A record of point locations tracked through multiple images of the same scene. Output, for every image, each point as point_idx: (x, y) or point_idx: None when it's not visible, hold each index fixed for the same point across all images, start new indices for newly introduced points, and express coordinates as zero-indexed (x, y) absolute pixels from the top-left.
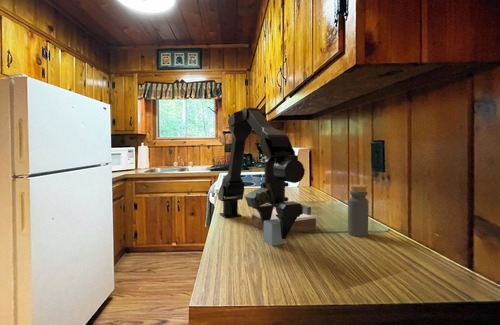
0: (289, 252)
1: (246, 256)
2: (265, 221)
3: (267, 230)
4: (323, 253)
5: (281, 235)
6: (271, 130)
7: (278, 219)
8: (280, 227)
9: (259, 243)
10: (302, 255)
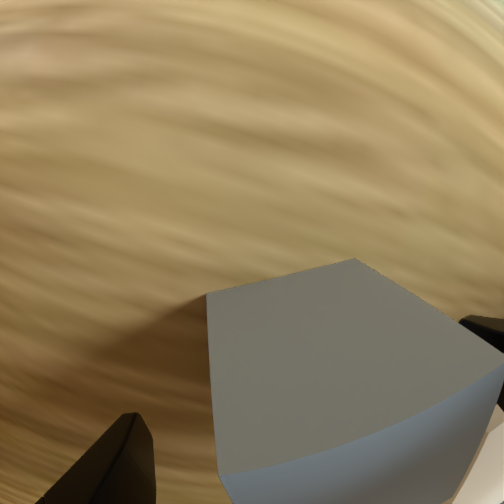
0: (43, 367)
1: (36, 20)
2: (466, 385)
3: (336, 337)
4: (50, 486)
5: (121, 432)
6: None
7: (494, 456)
8: (82, 499)
9: (313, 199)
10: (6, 405)
